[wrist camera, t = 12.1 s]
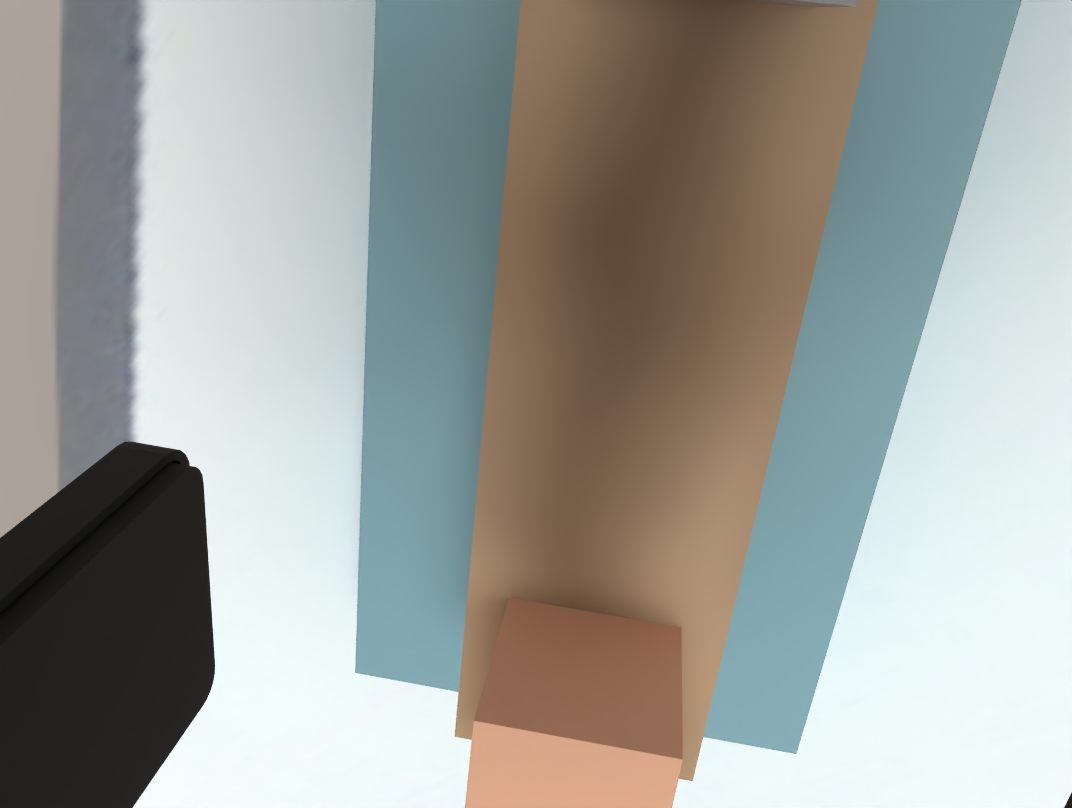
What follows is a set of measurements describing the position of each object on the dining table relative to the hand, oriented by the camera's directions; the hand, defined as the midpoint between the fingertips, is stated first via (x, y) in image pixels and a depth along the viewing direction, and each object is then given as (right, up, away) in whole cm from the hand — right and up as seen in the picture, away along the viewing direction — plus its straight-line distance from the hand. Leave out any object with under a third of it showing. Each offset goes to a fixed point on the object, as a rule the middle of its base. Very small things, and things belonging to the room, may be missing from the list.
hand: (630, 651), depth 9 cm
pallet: (+2, +6, +13) cm, 15 cm away
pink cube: (0, -4, +12) cm, 13 cm away
